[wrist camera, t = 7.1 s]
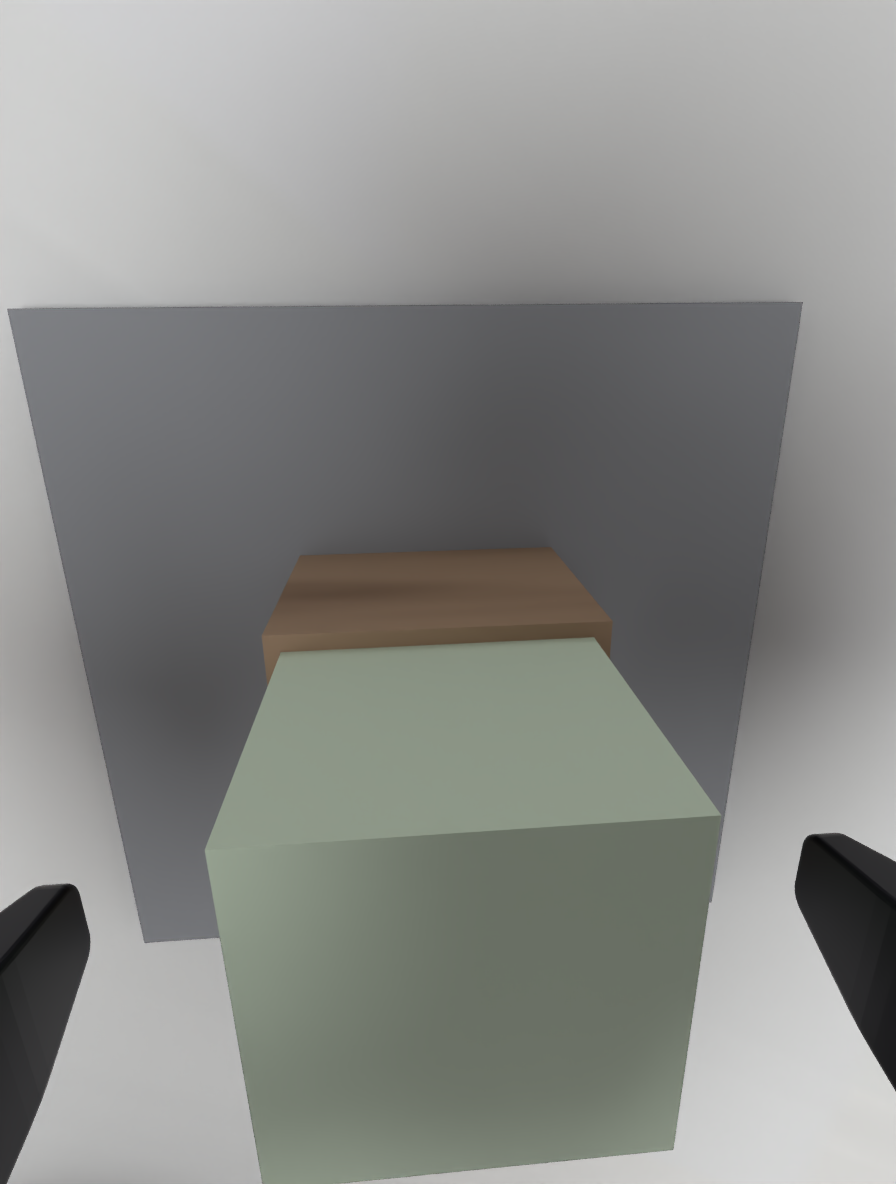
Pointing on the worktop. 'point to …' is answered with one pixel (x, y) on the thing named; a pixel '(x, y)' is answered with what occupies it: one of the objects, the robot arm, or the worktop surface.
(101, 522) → the slate mat
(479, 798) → the sage block
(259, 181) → the worktop surface
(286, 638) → the walnut block
